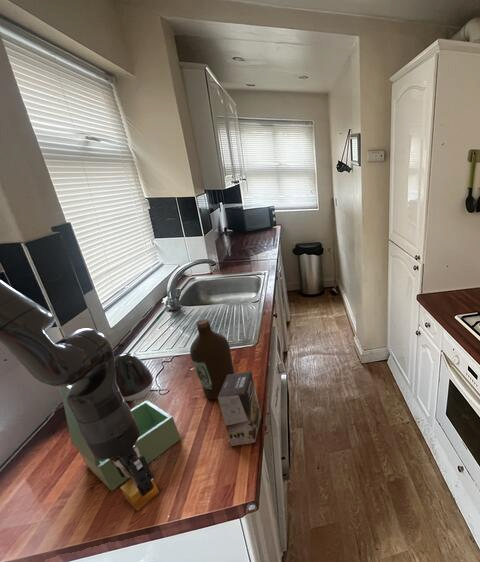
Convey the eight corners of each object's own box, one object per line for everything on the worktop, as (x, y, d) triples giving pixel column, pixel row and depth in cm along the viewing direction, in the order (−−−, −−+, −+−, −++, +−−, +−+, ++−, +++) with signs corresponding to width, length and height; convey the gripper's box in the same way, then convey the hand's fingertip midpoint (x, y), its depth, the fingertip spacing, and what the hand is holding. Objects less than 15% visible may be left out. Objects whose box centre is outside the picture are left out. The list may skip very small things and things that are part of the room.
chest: (155, 421, 87) (146, 400, 84) (180, 438, 81) (172, 416, 78) (87, 466, 75) (74, 443, 72) (111, 491, 69) (99, 467, 66)
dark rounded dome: (125, 411, 91) (107, 370, 85) (112, 398, 96) (93, 358, 91) (162, 390, 99) (148, 351, 93) (148, 379, 104) (133, 341, 98)
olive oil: (226, 374, 105) (209, 309, 96) (245, 385, 100) (229, 318, 90) (196, 393, 97) (174, 324, 88) (215, 406, 92) (193, 335, 82)
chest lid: (63, 378, 68) (58, 380, 67) (88, 397, 62) (82, 399, 62) (76, 441, 72) (71, 443, 71) (100, 464, 66) (95, 467, 65)
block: (137, 511, 65) (130, 497, 63) (127, 500, 67) (120, 487, 65) (159, 492, 68) (153, 479, 67) (148, 483, 70) (142, 470, 69)
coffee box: (256, 442, 80) (244, 394, 73) (230, 446, 79) (216, 398, 72) (262, 415, 88) (252, 370, 82) (238, 419, 87) (226, 373, 81)
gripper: (69, 426, 60) (101, 482, 66) (103, 457, 53) (134, 516, 59) (114, 401, 66) (139, 454, 72) (149, 425, 59) (173, 482, 65)
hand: (137, 482), depth 66 cm, fingers open, 8 cm apart
